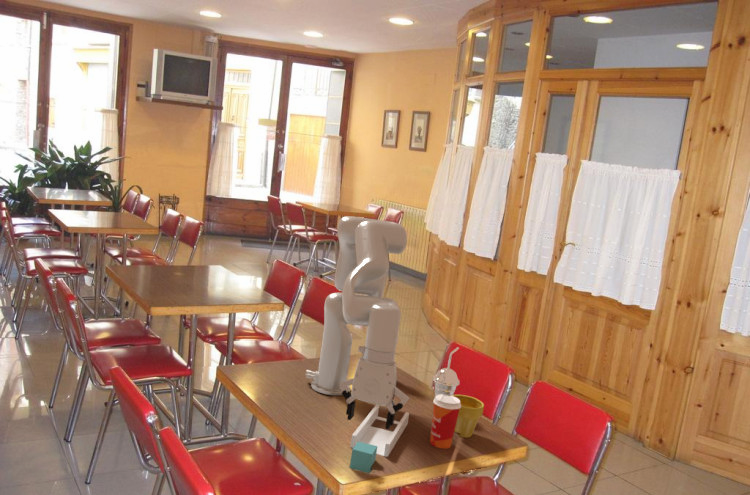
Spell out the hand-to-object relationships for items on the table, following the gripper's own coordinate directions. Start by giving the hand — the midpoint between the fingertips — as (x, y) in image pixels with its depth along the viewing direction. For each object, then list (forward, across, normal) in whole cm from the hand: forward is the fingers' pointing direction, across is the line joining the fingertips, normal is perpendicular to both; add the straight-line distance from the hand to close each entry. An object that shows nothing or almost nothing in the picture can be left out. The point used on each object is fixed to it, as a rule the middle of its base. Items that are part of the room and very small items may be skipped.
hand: (369, 422), depth 160 cm
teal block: (+9, 0, +2) cm, 9 cm away
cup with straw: (+11, +12, +50) cm, 52 cm away
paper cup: (+11, +16, +22) cm, 29 cm away
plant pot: (+11, +20, +36) cm, 43 cm away
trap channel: (+11, 0, +18) cm, 21 cm away
